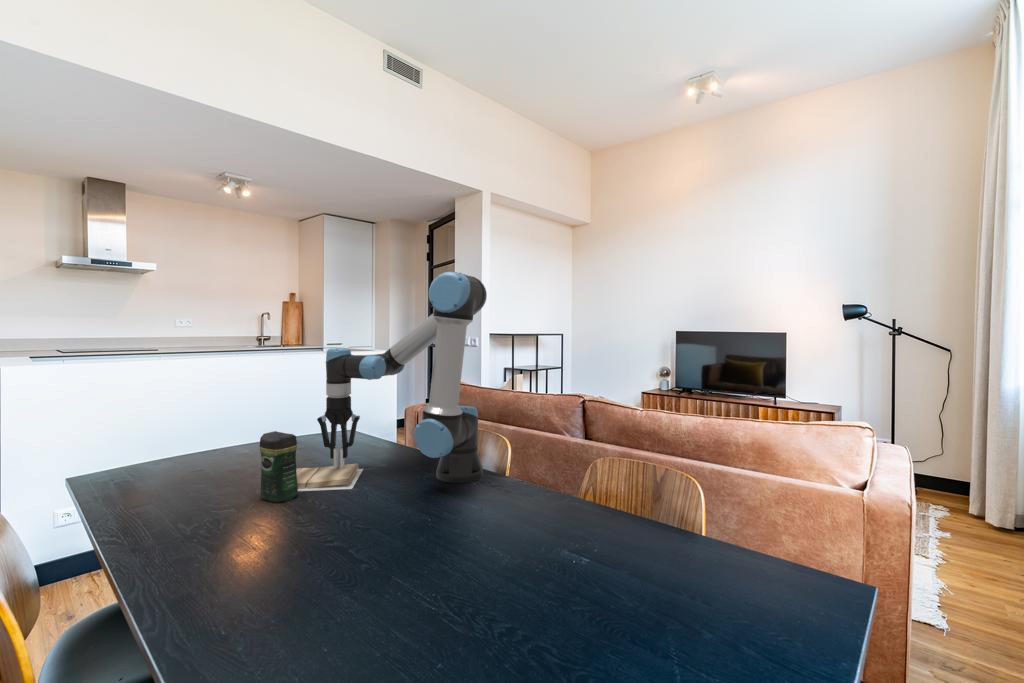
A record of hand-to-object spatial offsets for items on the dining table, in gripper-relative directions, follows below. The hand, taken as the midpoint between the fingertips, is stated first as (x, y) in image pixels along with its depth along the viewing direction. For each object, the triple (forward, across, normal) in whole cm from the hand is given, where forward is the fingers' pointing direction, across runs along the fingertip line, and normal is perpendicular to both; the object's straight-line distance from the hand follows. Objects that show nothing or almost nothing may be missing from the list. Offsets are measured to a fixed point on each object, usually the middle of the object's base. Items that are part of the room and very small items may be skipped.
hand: (339, 467), depth 151 cm
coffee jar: (+3, +12, +18) cm, 22 cm away
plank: (+2, +1, +4) cm, 5 cm away
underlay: (+3, +6, +4) cm, 8 cm away
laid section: (+2, +13, +4) cm, 13 cm away
